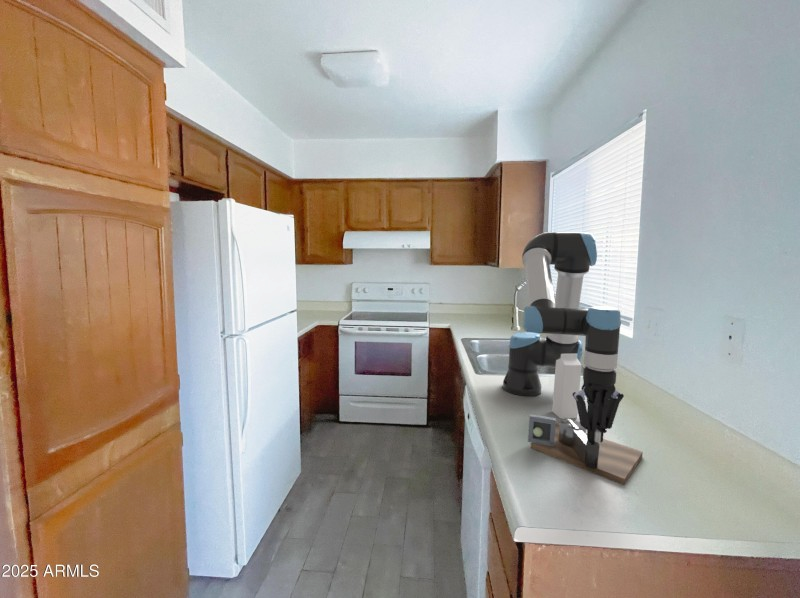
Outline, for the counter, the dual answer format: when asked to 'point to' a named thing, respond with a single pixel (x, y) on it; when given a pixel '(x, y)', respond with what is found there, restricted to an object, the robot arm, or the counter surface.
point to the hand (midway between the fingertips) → (593, 453)
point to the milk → (566, 386)
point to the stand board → (611, 460)
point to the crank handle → (579, 442)
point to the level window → (541, 430)
